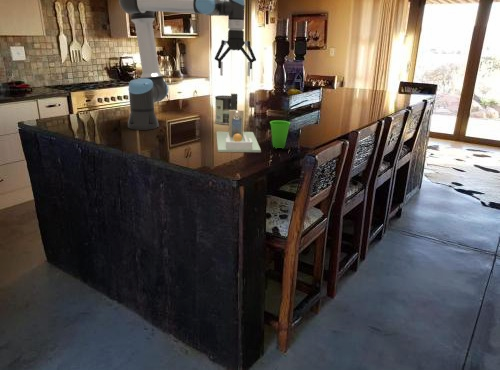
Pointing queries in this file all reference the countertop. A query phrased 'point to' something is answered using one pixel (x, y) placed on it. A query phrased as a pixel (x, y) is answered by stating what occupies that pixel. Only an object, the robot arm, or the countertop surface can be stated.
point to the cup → (279, 133)
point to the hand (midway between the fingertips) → (235, 75)
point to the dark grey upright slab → (235, 122)
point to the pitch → (229, 145)
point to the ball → (237, 137)
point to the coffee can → (223, 109)
